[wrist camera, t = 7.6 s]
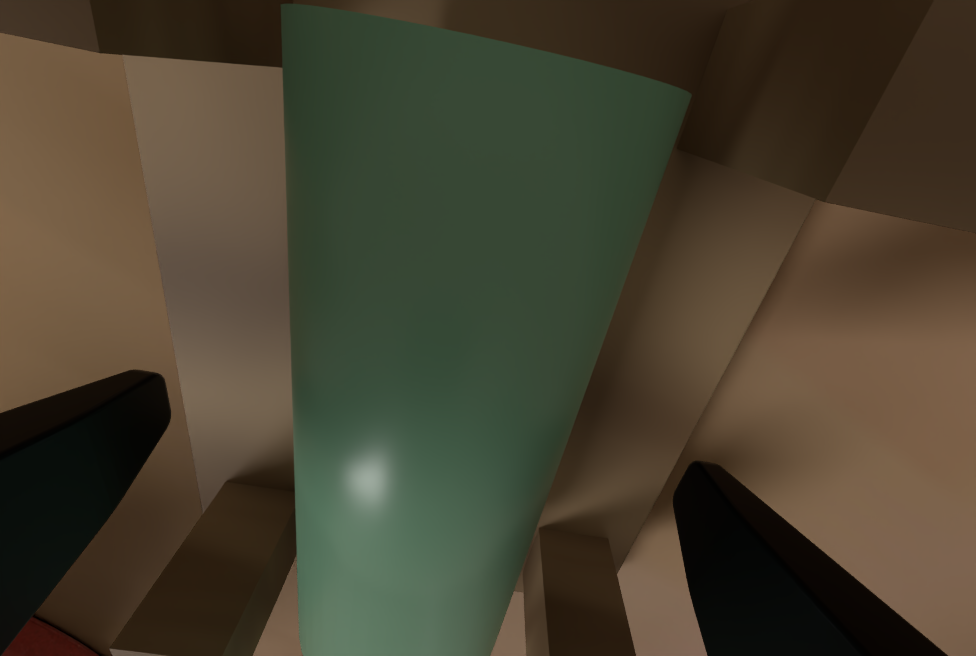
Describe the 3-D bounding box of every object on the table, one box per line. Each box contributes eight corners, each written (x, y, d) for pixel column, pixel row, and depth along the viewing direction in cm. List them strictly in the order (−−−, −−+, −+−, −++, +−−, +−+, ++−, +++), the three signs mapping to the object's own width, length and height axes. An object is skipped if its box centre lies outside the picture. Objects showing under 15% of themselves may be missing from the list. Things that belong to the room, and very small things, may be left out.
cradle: (595, 572, 15) (635, 776, 10) (227, 520, 14) (103, 716, 10) (886, -18, 7) (1461, -172, 3) (127, -202, 7) (-637, -789, 2)
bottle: (342, 31, 7) (176, -32, 3) (619, 91, 7) (789, 105, 4) (327, 628, 15) (277, 826, 11) (461, 635, 15) (460, 826, 11)
